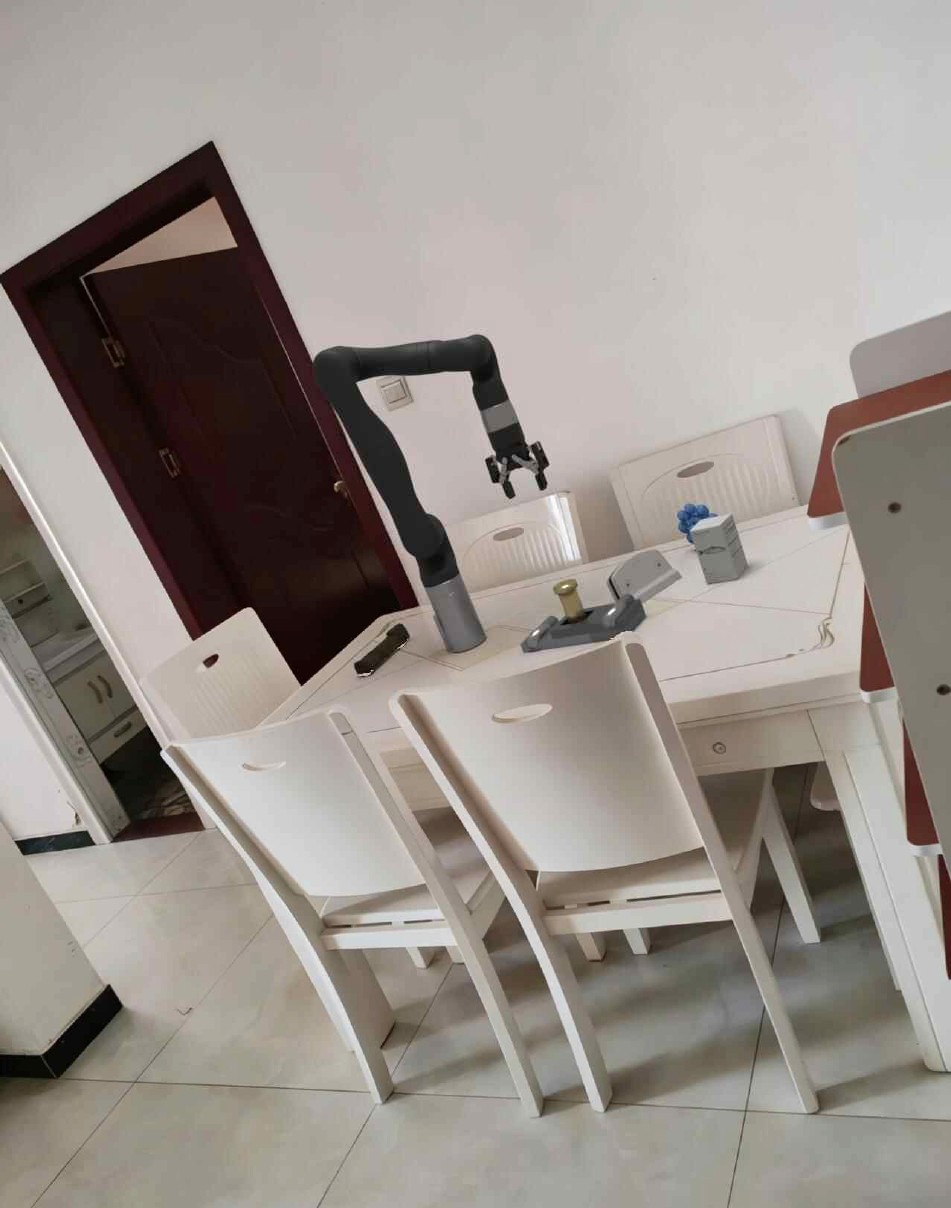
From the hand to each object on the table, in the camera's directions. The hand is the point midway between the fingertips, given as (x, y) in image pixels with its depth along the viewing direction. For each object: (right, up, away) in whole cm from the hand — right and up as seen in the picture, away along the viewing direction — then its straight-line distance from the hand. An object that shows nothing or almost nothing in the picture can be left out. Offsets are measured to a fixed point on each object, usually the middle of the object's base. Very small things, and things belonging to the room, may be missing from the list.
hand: (528, 493), depth 210 cm
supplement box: (+43, -19, -8) cm, 47 cm away
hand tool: (-35, -39, +34) cm, 62 cm away
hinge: (+27, -22, +3) cm, 35 cm away
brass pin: (+11, -31, -8) cm, 34 cm away
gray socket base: (+12, -31, -8) cm, 34 cm away
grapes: (+43, -12, +15) cm, 47 cm away
